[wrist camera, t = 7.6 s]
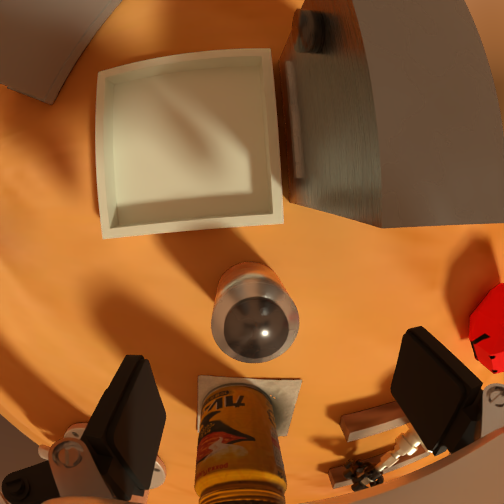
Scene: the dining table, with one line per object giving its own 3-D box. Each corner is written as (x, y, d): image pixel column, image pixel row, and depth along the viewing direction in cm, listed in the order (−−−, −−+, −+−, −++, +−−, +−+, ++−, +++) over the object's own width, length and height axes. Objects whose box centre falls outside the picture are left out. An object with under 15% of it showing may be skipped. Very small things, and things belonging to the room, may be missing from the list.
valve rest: (328, 474, 26) (333, 488, 23) (341, 415, 23) (349, 432, 21) (421, 443, 27) (429, 454, 24) (449, 380, 24) (460, 392, 21)
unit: (277, 203, 18) (354, 229, 7) (267, 61, 16) (308, -61, 4) (373, 199, 19) (509, 222, 7) (360, 69, 16) (462, -7, 5)
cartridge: (228, 330, 20) (227, 377, 14) (207, 272, 19) (197, 302, 13) (288, 313, 20) (309, 354, 14) (272, 253, 19) (289, 275, 13)
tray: (114, 234, 18) (102, 239, 16) (109, 81, 15) (98, 72, 13) (278, 219, 19) (283, 223, 17) (266, 60, 16) (270, 48, 14)
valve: (413, 383, 24) (336, 456, 25) (443, 413, 18) (349, 494, 18) (439, 405, 24) (369, 471, 25) (466, 432, 18) (384, 505, 18)
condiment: (198, 373, 21) (181, 504, 9) (301, 378, 22) (345, 497, 10) (197, 430, 22) (189, 538, 11) (286, 433, 23) (310, 536, 12)
